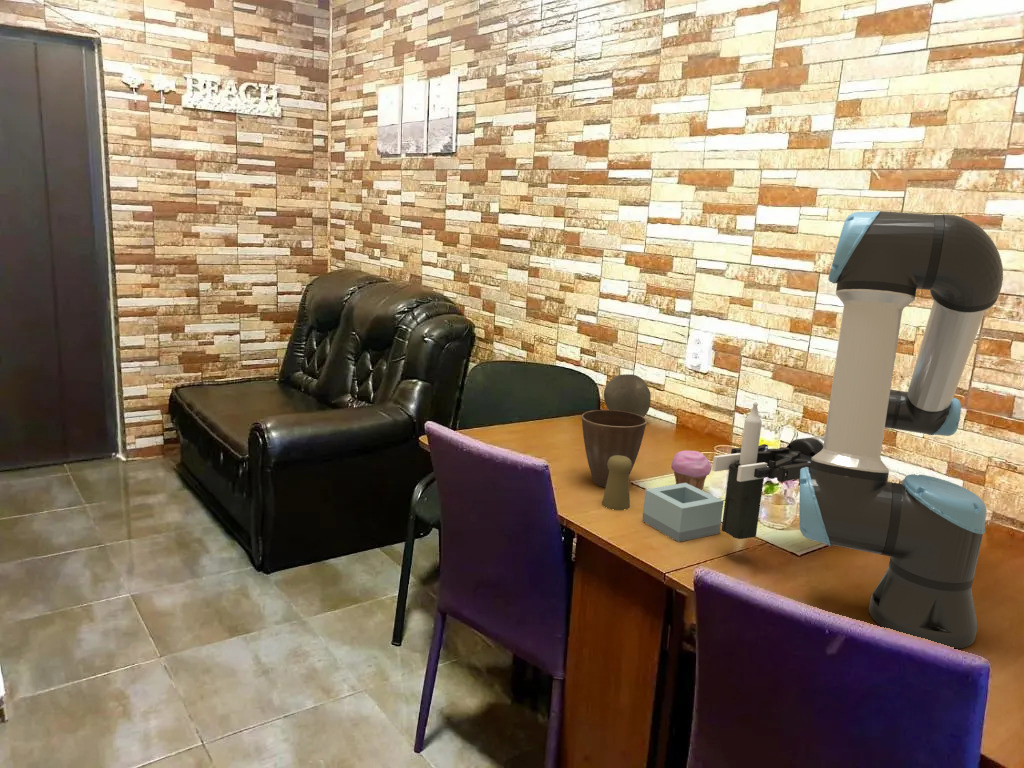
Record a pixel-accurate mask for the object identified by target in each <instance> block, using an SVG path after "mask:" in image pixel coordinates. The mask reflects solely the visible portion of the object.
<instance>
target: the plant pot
mask: <svg viewBox="0 0 1024 768" xmlns="http://www.w3.org/2000/svg"><path fill="white" fill-rule="evenodd" d="M647 422H648V421H647V419H646V418H645V416H644V417H642V416H640V415H637V414H634V413H630V412H624V411H616V410H609V409H597V410H589V411H586V412H584V413H582V415H581V427H582V435H583V443H584V448H585V454H586V459H587V463H588V468H589V471H590V474H591V479H592V480H593V483H594V485H596V486H599V487H601V488H604V489H605V488H606V484H607V479H608V475H609V469H608V465H607V463H608V460H609V458H610V457H612V456H615V455H620V456H625V457H628V458H629V459H630V460H631V463H632V468H631V470H630V472H629V473H628V474H629V476H630V475H631V473H632V470H633V467H634V465H635V462H637V461H636V460H637V457H638V455H639V452H640V448H641V447H642V446H641V445H642V441H643V438H644V434H645V431H646V425H647Z"/></svg>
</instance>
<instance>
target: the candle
mask: <svg viewBox="0 0 1024 768" xmlns="http://www.w3.org/2000/svg"><path fill="white" fill-rule="evenodd" d="M752 405H753V407H752V408H751V410H750V412H749V414H748V415H747V417H746V418H745V419H744V423H743V432H742V438H741V447H740V448H741V454H740V460H737V461H735V463H734V464H730V466H729V470H728V474H727V475H728V476H727V482H726V491H725V498H724V504H723V512H722V520H721V528H720V531H722V532H724V533H726V534H727V535H729V536H731V537H732V538H734V539H737V540H745V539H750V538H755V537H757V531H758V523H759V516H760V510H761V504H762V503H761V502H762V496H763V486H764V481H765V478H761V479H755V480H748V481H742V482H739V481H737V474H738V466H741V465H748V464H756V461H757V454H758V446H760V437H761V432H762V431H761V430H762V424H763V421H762V419H761V417H760V415H759V410H758V406H759V403H758V402H755V401H754V402H753V403H752Z"/></svg>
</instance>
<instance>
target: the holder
mask: <svg viewBox="0 0 1024 768" xmlns="http://www.w3.org/2000/svg"><path fill="white" fill-rule="evenodd" d="M724 503H725V500H723V499H721V498H719V497H717V496H716V495H715V496H714V495H713V494H710V493H708V492H706V491H704V490H700V489H698V488H696V487H694V486H692V485H689V484H687V483H681V484H676V483H675V484H670V485H664V486H657V487H651V488H646V489H644V499H643V511H642V520H641V522H642V521H644V522H645V523H644V522H643V523H644V524H646V523H647V524H646V525H648V524H649V525H650V527H651V526H652V527H651V528H653V527H654V528H653V529H655V530H656V529H657V530H656V531H658V530H659V532H660V531H661V532H662V533H661V532H660V533H661V534H663V533H664V534H663V535H665V534H666V535H665V536H667V537H668V536H669V538H670V537H671V538H670V539H672V538H673V539H672V540H673V541H675V540H676V541H675V542H677V541H678V542H677V543H681V542H680V541H682V542H687V541H691V540H696V539H701V538H704V537H709V536H714V535H719V534H720V533H721V528H722V520H723V511H724ZM649 525H648V526H649ZM686 540H687V541H686Z"/></svg>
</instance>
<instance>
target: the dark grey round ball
mask: <svg viewBox="0 0 1024 768" xmlns="http://www.w3.org/2000/svg"><path fill="white" fill-rule="evenodd" d="M651 395H652V394H651V391H650V388H649V387H648V385H647V383H646V381H644V379H643V378H642V377H640V376H638V375H637V374H628V373H627V374H624V373H623V374H619V375H616V376H614V377H612V378H611V379H610V380H609V381H608V382H607V384H606V385H605V387H604V391H603V399H604V404H605V406H606V408H607V410H616V411H624V412H630V413H634V414H637V415H640V416H642V417H644V418H645V417H646V415H647V414H648V412H649V410H650V408H651V398H652V397H651Z"/></svg>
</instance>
